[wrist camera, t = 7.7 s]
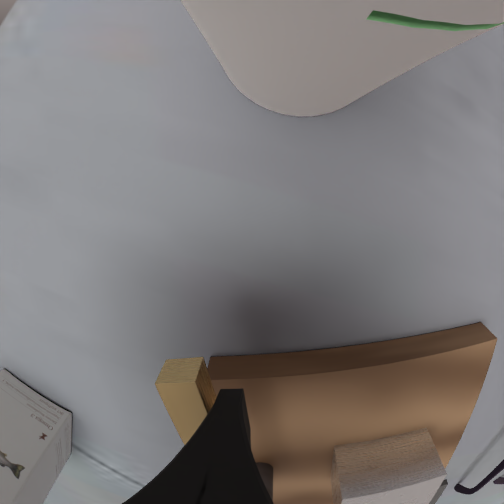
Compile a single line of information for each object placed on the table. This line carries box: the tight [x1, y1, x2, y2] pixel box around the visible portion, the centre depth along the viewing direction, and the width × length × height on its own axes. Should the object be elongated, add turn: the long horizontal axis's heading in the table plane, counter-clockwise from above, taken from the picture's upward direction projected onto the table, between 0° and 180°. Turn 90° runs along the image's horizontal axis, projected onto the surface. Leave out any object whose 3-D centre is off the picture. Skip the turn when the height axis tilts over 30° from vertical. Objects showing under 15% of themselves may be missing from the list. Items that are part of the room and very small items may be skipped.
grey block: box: [330, 428, 447, 504], centre depth 14 cm, size 4×6×4 cm, turn 96°
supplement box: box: [0, 369, 72, 504], centre depth 14 cm, size 7×7×13 cm
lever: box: [155, 357, 217, 445], centre depth 11 cm, size 14×2×1 cm, turn 11°
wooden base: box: [207, 322, 497, 504], centre depth 15 cm, size 16×16×6 cm
